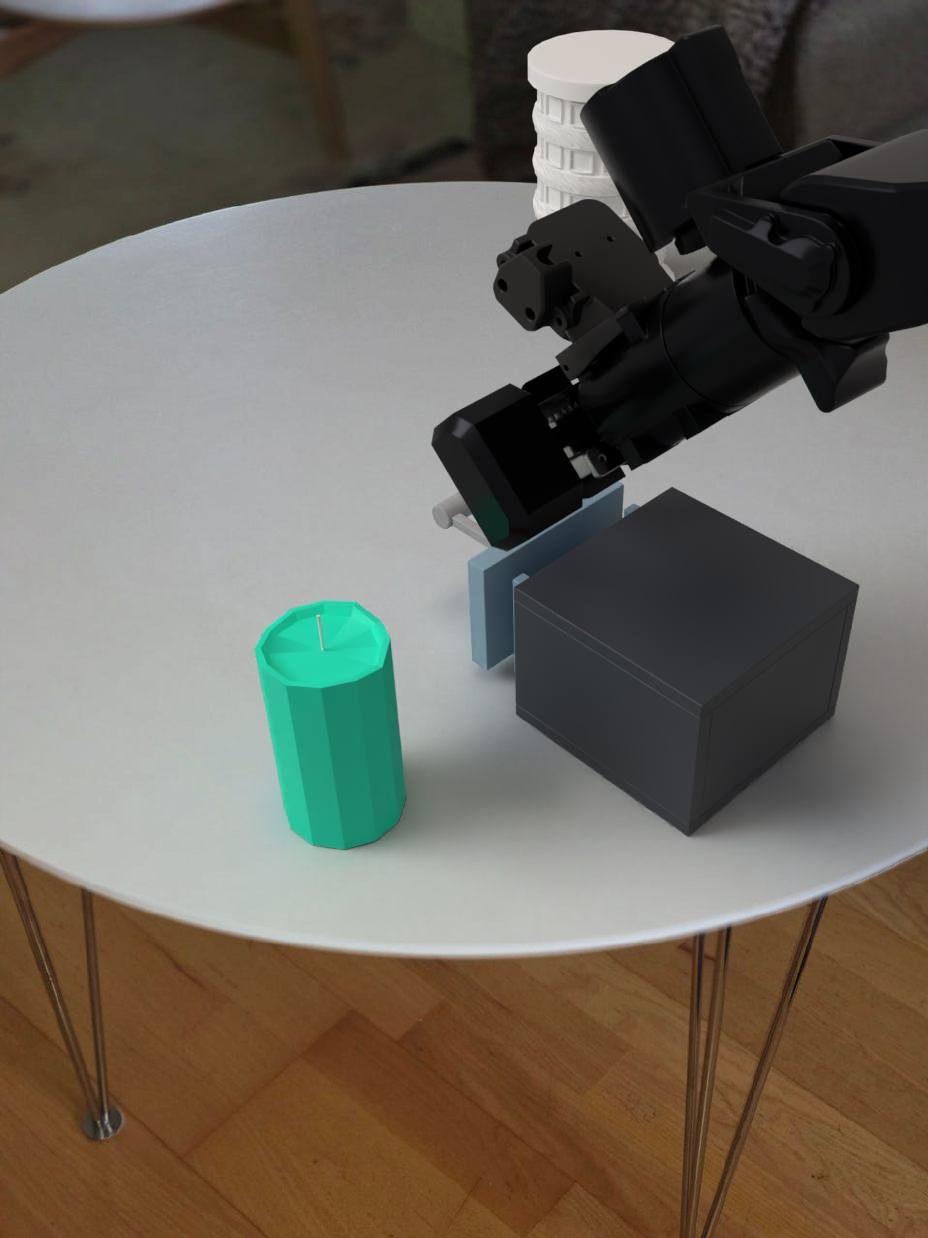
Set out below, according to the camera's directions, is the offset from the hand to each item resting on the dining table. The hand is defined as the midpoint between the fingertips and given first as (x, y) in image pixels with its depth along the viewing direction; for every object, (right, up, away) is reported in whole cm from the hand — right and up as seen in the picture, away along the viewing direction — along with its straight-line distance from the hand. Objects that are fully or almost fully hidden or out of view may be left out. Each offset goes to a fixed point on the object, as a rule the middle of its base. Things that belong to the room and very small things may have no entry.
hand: (530, 461), depth 69 cm
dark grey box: (+8, -13, +1) cm, 15 cm away
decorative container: (+7, +17, +36) cm, 40 cm away
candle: (-9, -17, -2) cm, 20 cm away
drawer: (+3, -9, +5) cm, 10 cm away
